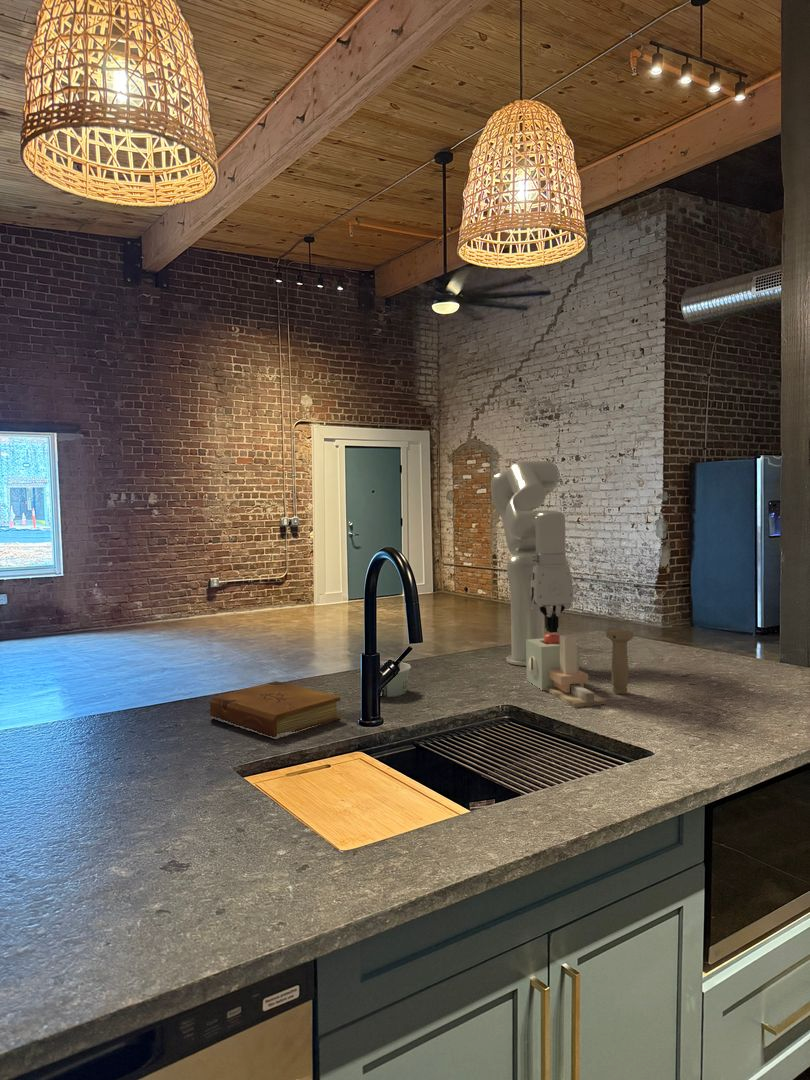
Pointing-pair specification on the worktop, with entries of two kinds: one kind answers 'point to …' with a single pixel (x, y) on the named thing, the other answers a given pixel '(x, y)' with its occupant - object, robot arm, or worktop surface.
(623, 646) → the handle
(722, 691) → the worktop surface
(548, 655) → the gauge cabinet
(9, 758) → the worktop surface
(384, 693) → the food container
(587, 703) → the rail
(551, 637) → the button
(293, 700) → the diary
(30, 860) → the worktop surface
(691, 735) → the worktop surface
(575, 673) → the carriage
